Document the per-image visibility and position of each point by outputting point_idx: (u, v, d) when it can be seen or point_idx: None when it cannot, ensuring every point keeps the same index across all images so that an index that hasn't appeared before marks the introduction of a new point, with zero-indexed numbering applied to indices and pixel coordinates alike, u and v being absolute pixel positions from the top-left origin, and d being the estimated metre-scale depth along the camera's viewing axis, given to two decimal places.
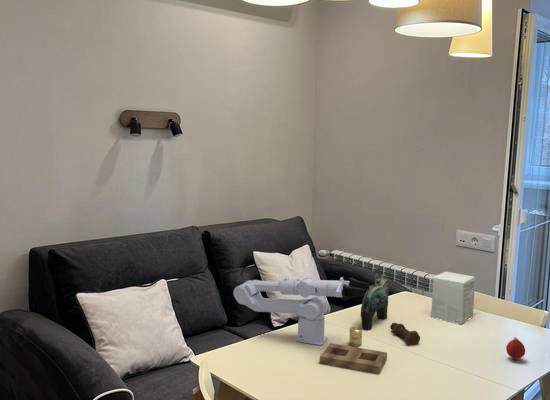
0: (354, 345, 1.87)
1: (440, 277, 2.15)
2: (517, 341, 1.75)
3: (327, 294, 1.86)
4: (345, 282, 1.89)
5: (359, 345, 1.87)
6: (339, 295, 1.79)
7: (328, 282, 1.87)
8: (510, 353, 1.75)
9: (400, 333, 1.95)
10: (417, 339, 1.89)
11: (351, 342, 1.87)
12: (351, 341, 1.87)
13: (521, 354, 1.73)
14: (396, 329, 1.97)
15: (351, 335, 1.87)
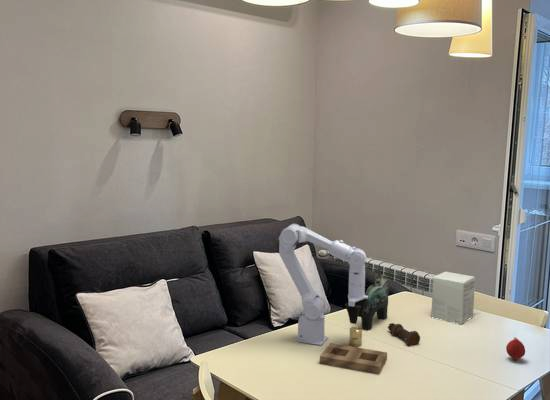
0: (354, 345, 1.87)
1: (440, 277, 2.15)
2: (517, 341, 1.75)
3: (351, 283, 1.84)
4: None
5: (359, 345, 1.87)
6: (350, 304, 1.80)
7: (362, 285, 1.84)
8: (510, 353, 1.75)
9: (399, 333, 1.94)
10: (417, 339, 1.89)
11: (351, 342, 1.87)
12: (351, 341, 1.87)
13: (521, 354, 1.73)
14: (395, 330, 1.97)
15: (351, 335, 1.87)
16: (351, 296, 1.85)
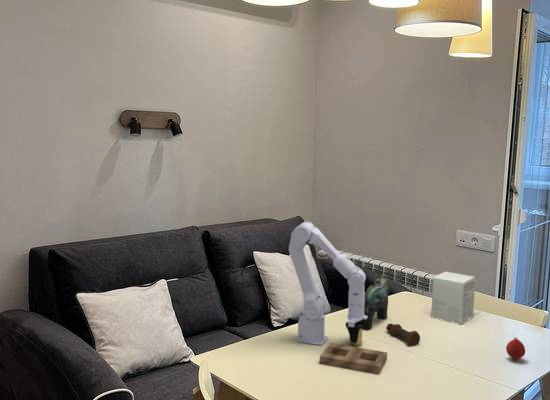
0: (354, 345, 1.87)
1: (440, 277, 2.15)
2: (517, 341, 1.75)
3: (351, 304, 1.85)
4: None
5: (359, 345, 1.87)
6: (349, 325, 1.81)
7: (362, 305, 1.85)
8: (510, 353, 1.75)
9: (399, 334, 1.94)
10: (417, 339, 1.89)
11: (351, 342, 1.87)
12: None
13: (521, 354, 1.73)
14: (394, 330, 1.96)
15: None
16: (351, 316, 1.86)
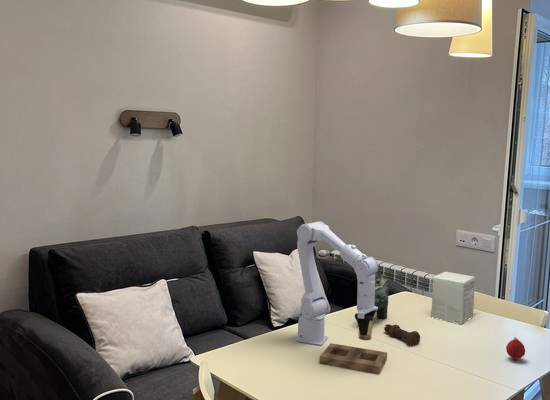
0: (363, 338, 1.75)
1: (440, 277, 2.15)
2: (517, 341, 1.75)
3: (358, 293, 1.75)
4: None
5: (369, 338, 1.75)
6: (359, 316, 1.69)
7: (372, 295, 1.73)
8: (510, 353, 1.75)
9: (398, 334, 1.93)
10: (418, 339, 1.89)
11: (361, 335, 1.75)
12: None
13: (521, 354, 1.73)
14: (393, 331, 1.95)
15: None
16: (360, 307, 1.74)
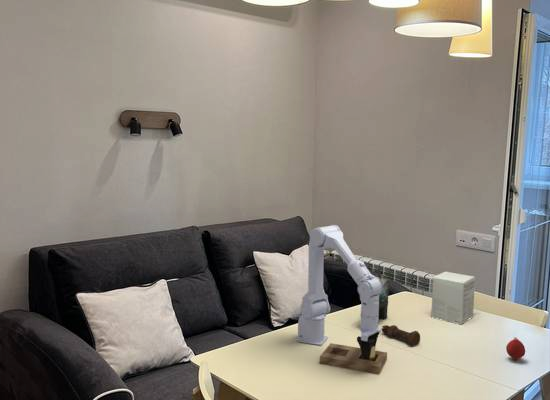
0: None
1: (440, 277, 2.15)
2: (517, 341, 1.75)
3: (361, 314, 1.71)
4: None
5: None
6: (362, 339, 1.65)
7: (376, 317, 1.69)
8: (510, 353, 1.75)
9: (398, 335, 1.93)
10: (418, 339, 1.89)
11: None
12: None
13: (521, 354, 1.73)
14: (392, 331, 1.95)
15: None
16: (363, 329, 1.69)
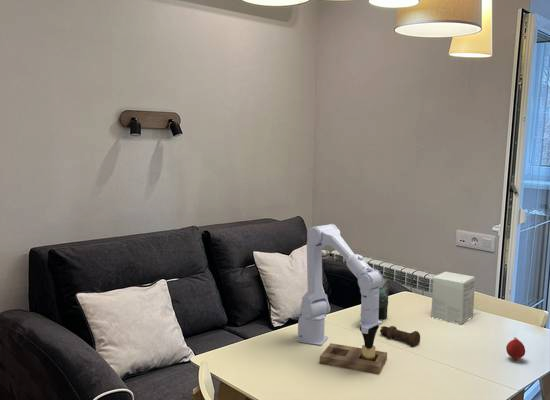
0: None
1: (440, 277, 2.15)
2: (517, 341, 1.75)
3: (361, 306, 1.70)
4: None
5: None
6: (363, 331, 1.65)
7: (376, 310, 1.68)
8: (510, 353, 1.75)
9: (398, 336, 1.92)
10: (418, 339, 1.89)
11: None
12: None
13: (521, 354, 1.73)
14: (391, 332, 1.94)
15: (363, 354, 1.71)
16: (364, 322, 1.69)
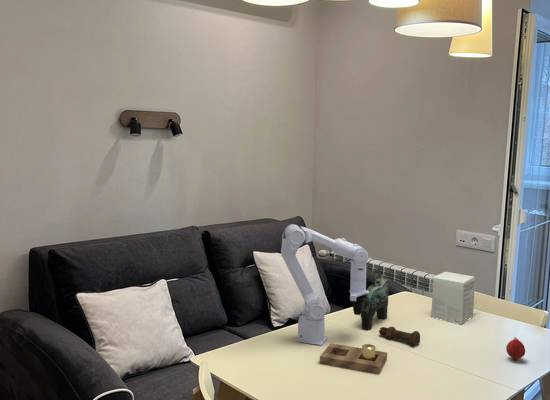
0: None
1: (440, 277, 2.15)
2: (517, 341, 1.75)
3: (355, 280, 1.90)
4: None
5: None
6: (351, 299, 1.86)
7: (364, 280, 1.90)
8: (510, 353, 1.75)
9: (398, 336, 1.91)
10: (419, 339, 1.89)
11: None
12: None
13: (521, 354, 1.73)
14: (391, 333, 1.93)
15: (363, 353, 1.71)
16: (353, 291, 1.91)
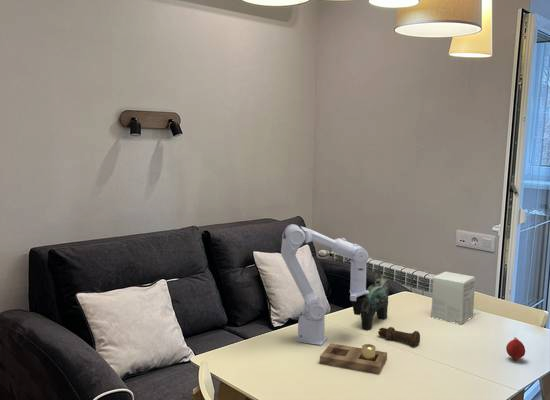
0: None
1: (440, 277, 2.15)
2: (517, 341, 1.75)
3: (355, 280, 1.90)
4: None
5: None
6: (351, 299, 1.86)
7: (364, 280, 1.90)
8: (510, 353, 1.75)
9: (398, 337, 1.91)
10: (419, 338, 1.89)
11: None
12: None
13: (521, 354, 1.73)
14: (390, 334, 1.92)
15: (363, 353, 1.71)
16: (353, 291, 1.91)
